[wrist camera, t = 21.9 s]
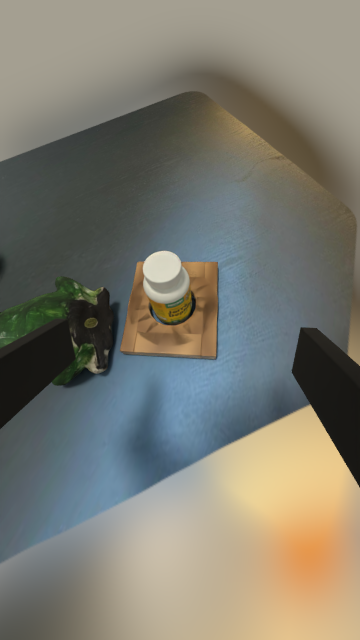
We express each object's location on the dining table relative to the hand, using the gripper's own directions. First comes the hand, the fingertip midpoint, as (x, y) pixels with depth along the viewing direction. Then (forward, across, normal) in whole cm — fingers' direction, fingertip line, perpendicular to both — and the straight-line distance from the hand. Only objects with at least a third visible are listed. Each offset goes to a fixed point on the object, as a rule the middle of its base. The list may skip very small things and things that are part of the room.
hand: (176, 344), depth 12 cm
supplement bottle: (+18, -3, -4) cm, 19 cm away
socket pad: (+18, -3, -4) cm, 19 cm away
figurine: (+14, -18, -7) cm, 24 cm away
